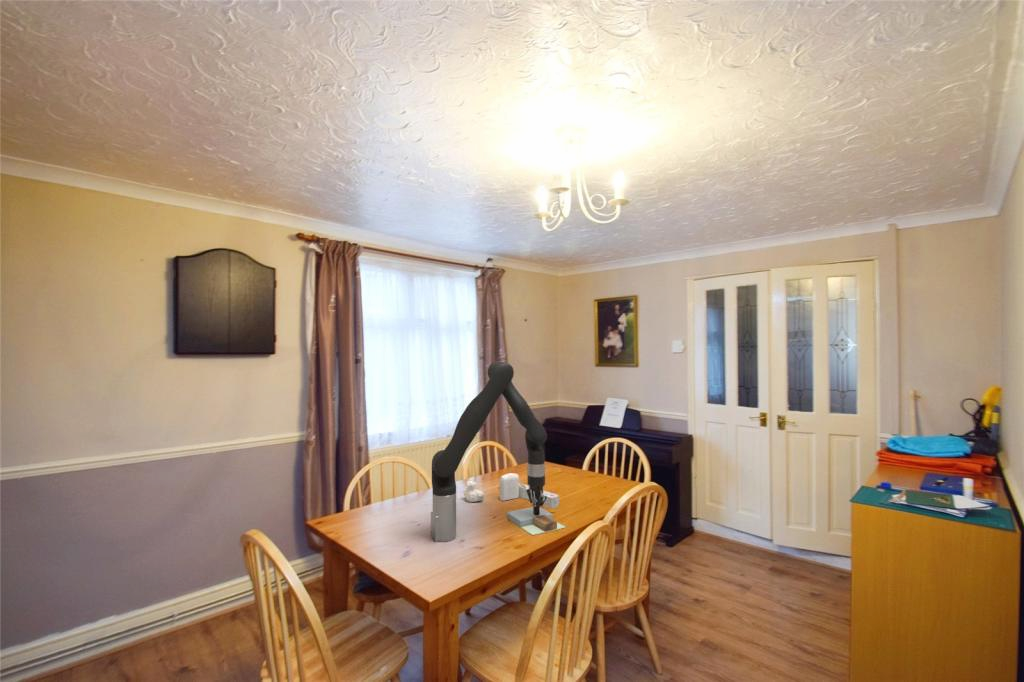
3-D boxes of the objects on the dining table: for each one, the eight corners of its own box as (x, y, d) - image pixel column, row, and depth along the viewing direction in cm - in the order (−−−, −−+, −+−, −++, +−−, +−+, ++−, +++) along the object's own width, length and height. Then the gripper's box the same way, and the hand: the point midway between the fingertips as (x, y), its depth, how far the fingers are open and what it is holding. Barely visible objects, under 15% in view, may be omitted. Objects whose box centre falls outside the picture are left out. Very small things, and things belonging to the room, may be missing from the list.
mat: (532, 535, 173) (532, 534, 173) (521, 527, 181) (521, 526, 181) (565, 527, 181) (565, 527, 181) (553, 520, 189) (553, 519, 189)
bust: (462, 503, 217) (454, 489, 212) (469, 491, 223) (461, 476, 217) (482, 507, 211) (474, 493, 205) (489, 494, 216) (481, 480, 211)
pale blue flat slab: (520, 527, 182) (520, 521, 182) (507, 517, 192) (506, 512, 192) (552, 520, 189) (552, 514, 189) (538, 511, 200) (537, 506, 200)
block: (544, 531, 176) (544, 524, 176) (532, 524, 184) (532, 517, 184) (556, 528, 179) (556, 521, 179) (544, 521, 187) (544, 514, 187)
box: (559, 506, 207) (559, 494, 207) (552, 509, 203) (552, 497, 204) (520, 493, 227) (520, 482, 227) (512, 495, 224) (512, 484, 224)
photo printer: (515, 495, 222) (515, 471, 223) (520, 498, 219) (520, 473, 219) (498, 499, 217) (498, 474, 217) (502, 502, 213) (502, 476, 213)
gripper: (520, 471, 190) (521, 511, 190) (537, 478, 179) (537, 521, 178) (535, 469, 194) (535, 508, 194) (552, 476, 182) (552, 518, 182)
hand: (536, 514), depth 186 cm, fingers closed
